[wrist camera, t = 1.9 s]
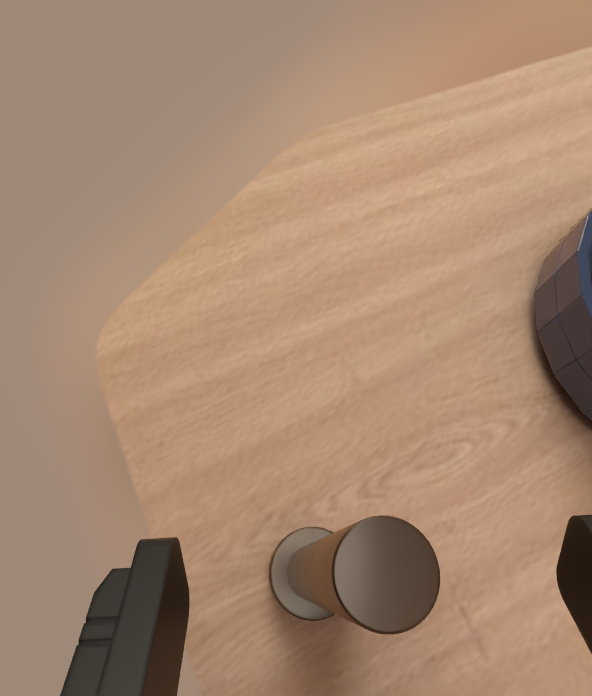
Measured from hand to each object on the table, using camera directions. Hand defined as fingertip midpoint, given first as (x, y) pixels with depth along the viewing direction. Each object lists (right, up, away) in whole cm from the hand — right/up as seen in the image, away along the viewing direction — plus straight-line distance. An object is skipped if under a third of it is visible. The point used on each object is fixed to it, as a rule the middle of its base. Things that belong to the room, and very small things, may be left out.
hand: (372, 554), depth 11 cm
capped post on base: (-1, -7, +15) cm, 17 cm away
